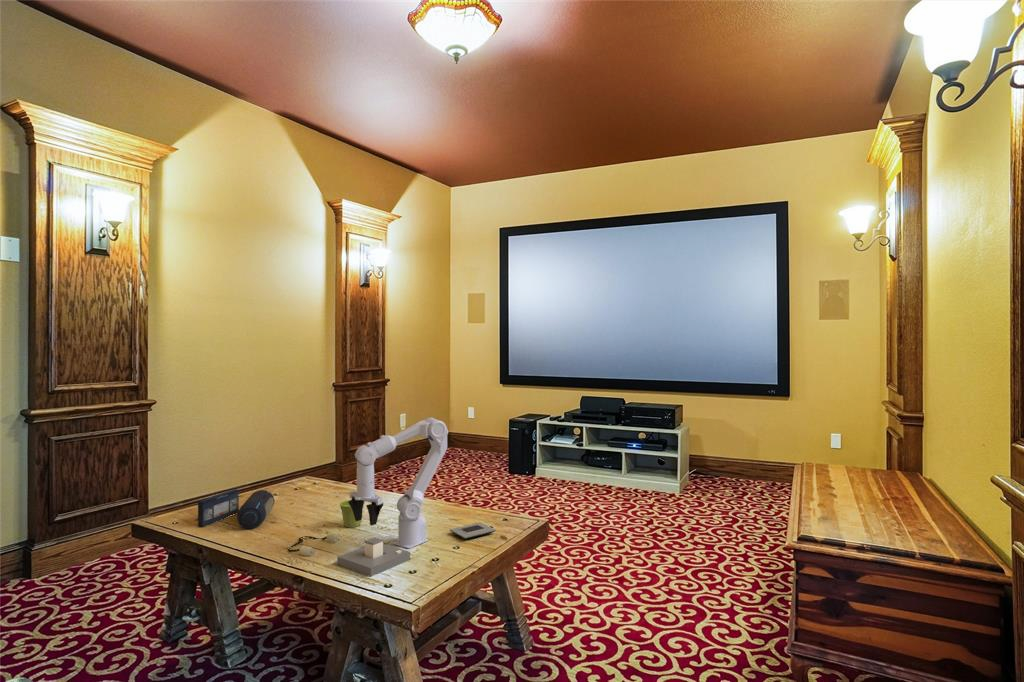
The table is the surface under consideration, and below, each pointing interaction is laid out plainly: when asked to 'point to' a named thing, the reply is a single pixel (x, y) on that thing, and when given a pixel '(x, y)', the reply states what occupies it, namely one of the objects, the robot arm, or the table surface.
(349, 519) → the plant pot
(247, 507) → the portable speaker
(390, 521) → the table surface
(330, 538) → the cable
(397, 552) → the socket block
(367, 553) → the plug
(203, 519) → the vhs cassette tape
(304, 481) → the table surface
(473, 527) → the electrical outlet
